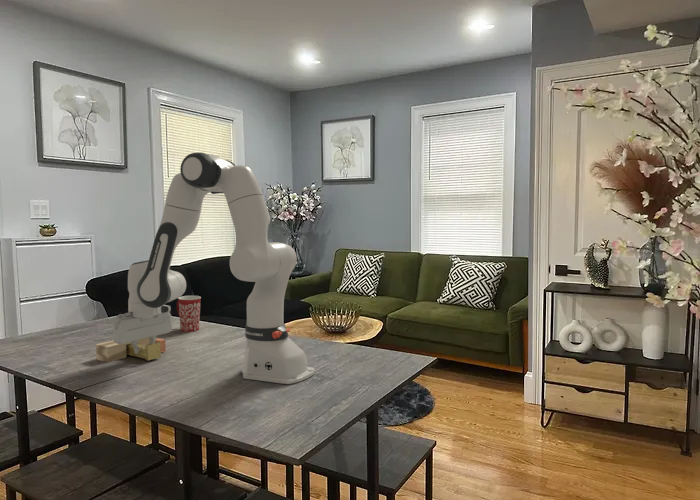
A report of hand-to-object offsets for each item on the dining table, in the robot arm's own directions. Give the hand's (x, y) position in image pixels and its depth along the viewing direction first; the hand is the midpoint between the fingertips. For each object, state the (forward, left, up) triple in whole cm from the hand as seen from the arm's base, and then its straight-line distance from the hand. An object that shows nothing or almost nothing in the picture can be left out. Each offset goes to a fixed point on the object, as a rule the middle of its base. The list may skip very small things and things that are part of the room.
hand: (144, 351), depth 161 cm
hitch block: (+9, +1, -2) cm, 9 cm away
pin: (+3, 0, -2) cm, 3 cm away
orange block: (+2, -8, -2) cm, 9 cm away
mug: (+20, -36, -2) cm, 41 cm away
